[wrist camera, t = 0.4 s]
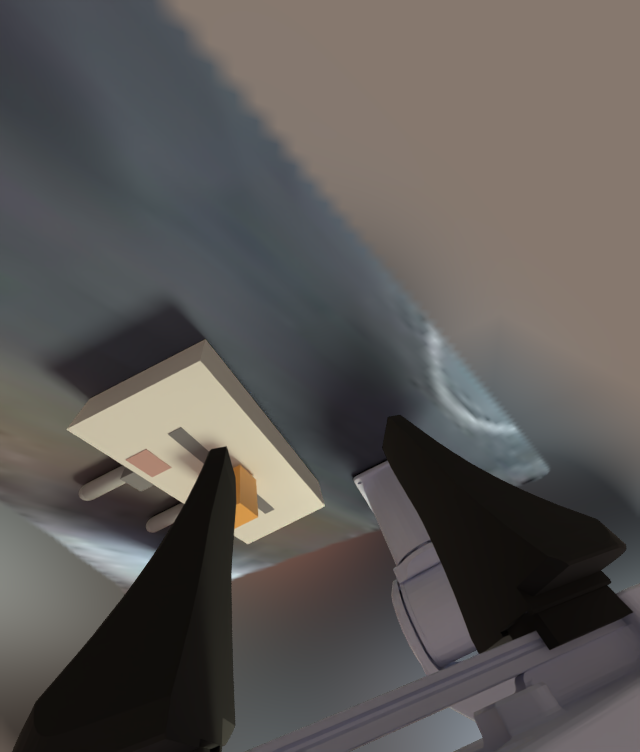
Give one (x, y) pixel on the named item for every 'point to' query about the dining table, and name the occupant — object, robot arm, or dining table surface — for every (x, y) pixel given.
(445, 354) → the dining table surface
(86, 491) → the white peg legs
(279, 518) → the slider switch box
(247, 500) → the knob
